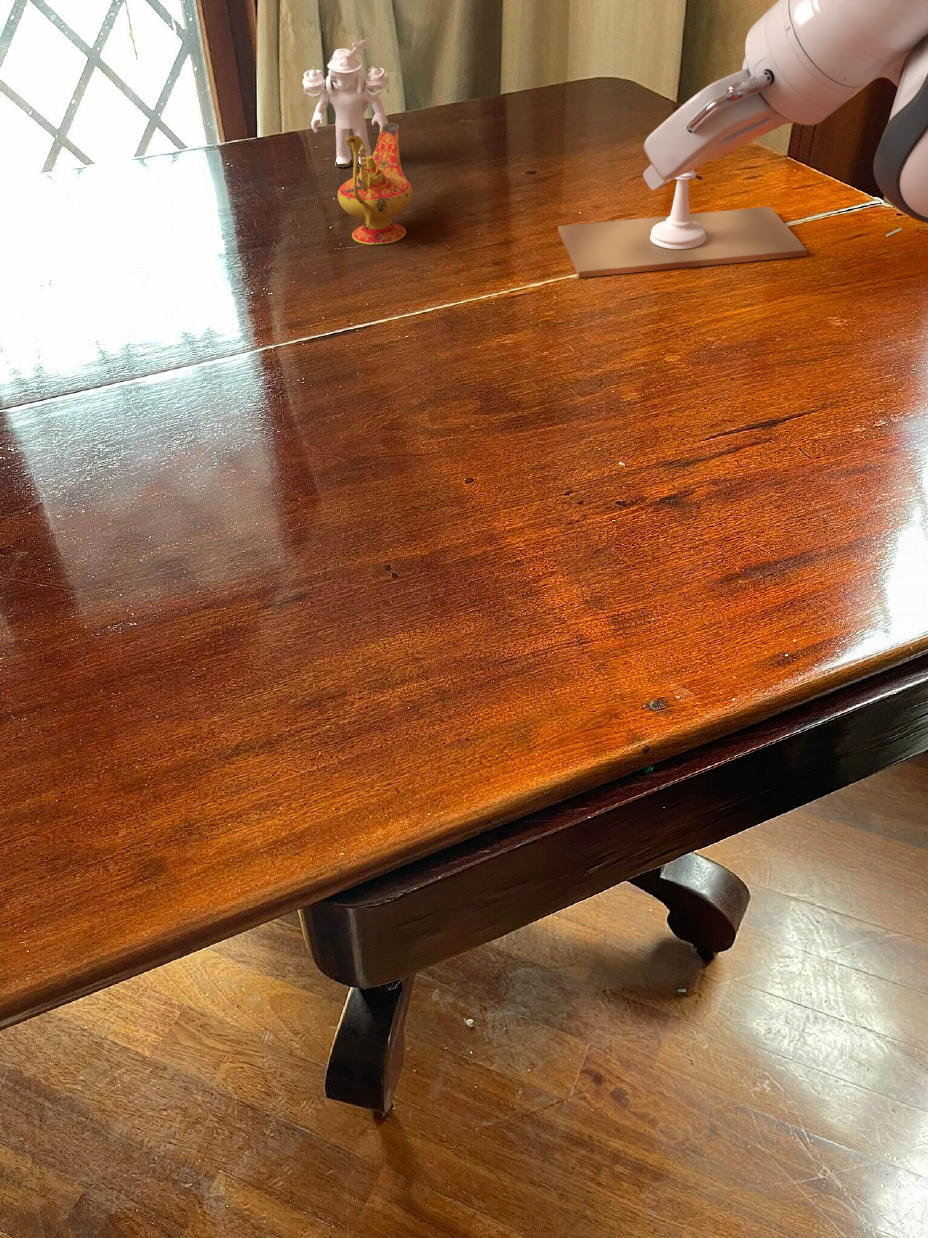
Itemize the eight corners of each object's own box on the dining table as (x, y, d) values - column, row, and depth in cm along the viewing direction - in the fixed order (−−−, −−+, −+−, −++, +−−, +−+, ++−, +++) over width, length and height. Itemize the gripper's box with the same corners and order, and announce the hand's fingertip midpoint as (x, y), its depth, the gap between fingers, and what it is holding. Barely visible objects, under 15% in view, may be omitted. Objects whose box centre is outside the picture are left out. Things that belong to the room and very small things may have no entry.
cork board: (769, 212, 102) (770, 206, 102) (806, 256, 95) (807, 249, 94) (557, 232, 101) (557, 225, 101) (578, 278, 94) (578, 271, 93)
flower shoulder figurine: (397, 155, 118) (387, 33, 110) (394, 168, 115) (382, 43, 108) (315, 157, 119) (299, 36, 111) (309, 170, 116) (292, 47, 108)
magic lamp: (432, 191, 110) (424, 73, 103) (401, 267, 97) (390, 138, 90) (365, 191, 111) (352, 74, 104) (326, 266, 98) (308, 139, 90)
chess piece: (717, 235, 97) (729, 117, 91) (685, 254, 95) (695, 134, 88) (671, 222, 100) (680, 107, 93) (638, 240, 97) (645, 122, 91)
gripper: (746, 134, 77) (629, 235, 88) (894, 62, 87) (771, 162, 99) (700, 54, 76) (588, 167, 88) (853, -8, 86) (734, 100, 98)
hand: (686, 164), depth 93 cm, fingers open, 8 cm apart
